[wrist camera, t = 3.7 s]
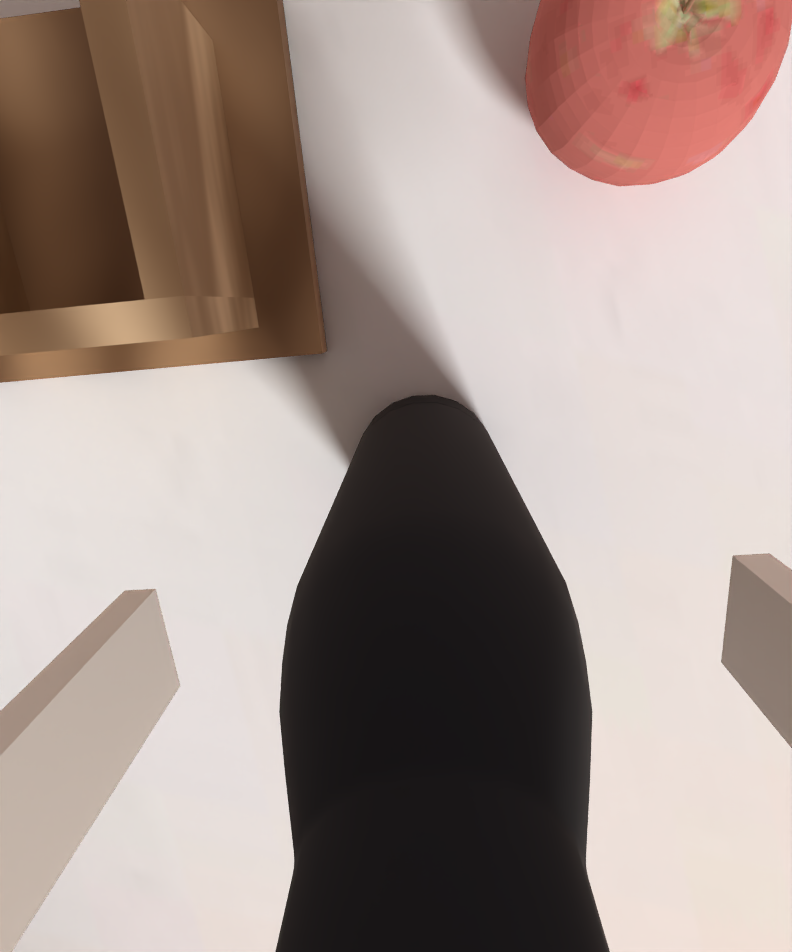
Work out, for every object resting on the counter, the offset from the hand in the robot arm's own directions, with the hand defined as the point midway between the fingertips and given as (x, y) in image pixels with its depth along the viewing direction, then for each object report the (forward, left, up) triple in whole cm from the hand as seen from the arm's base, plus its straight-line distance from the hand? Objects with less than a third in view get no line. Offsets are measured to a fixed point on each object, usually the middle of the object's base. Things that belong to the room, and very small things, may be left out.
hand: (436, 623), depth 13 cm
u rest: (-12, +12, -14) cm, 22 cm away
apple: (+8, +14, -14) cm, 21 cm away
